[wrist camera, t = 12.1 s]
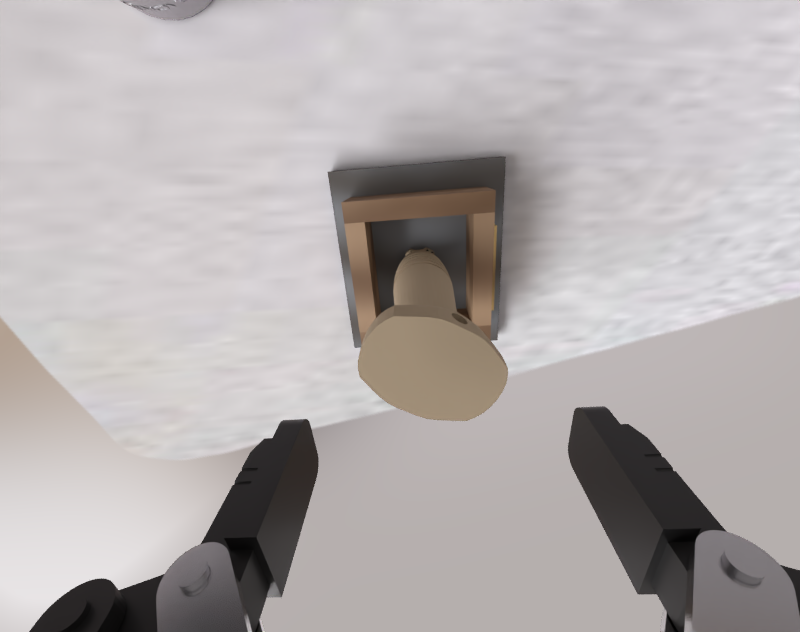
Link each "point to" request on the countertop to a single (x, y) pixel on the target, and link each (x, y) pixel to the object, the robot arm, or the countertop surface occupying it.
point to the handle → (430, 348)
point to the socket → (421, 233)
